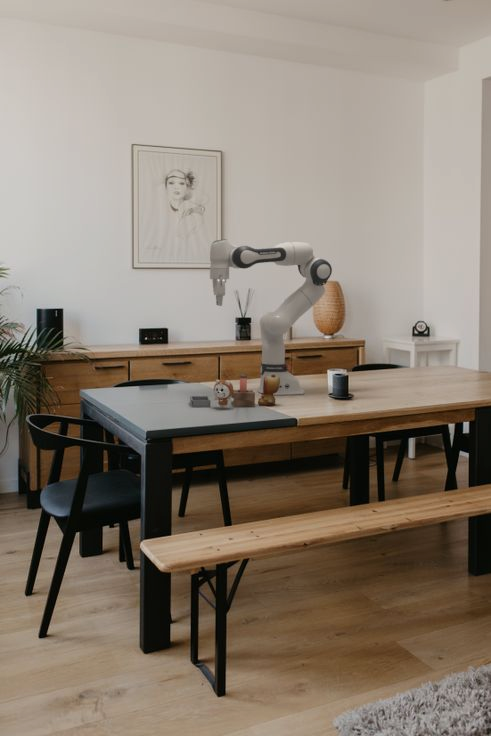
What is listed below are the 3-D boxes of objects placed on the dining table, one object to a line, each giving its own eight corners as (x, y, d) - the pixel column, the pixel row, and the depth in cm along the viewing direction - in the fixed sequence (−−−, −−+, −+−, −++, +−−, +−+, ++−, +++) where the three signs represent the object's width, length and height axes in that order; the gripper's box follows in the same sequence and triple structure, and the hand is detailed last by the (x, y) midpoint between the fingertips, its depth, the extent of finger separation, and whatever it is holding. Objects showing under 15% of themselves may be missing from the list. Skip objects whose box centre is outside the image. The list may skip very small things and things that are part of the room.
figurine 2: (255, 402, 306) (264, 370, 305) (272, 406, 307) (280, 374, 306) (258, 406, 296) (267, 373, 295) (274, 410, 297) (284, 377, 296)
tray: (208, 402, 304) (208, 396, 303) (210, 407, 293) (210, 400, 292) (189, 402, 302) (189, 396, 302) (191, 407, 292) (191, 400, 291)
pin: (245, 404, 301) (246, 374, 299) (246, 405, 298) (247, 375, 296) (238, 404, 300) (239, 374, 299) (239, 405, 298) (240, 375, 296)
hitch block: (251, 403, 304) (251, 389, 304) (254, 406, 295) (255, 393, 295) (231, 403, 303) (231, 389, 302) (233, 407, 294) (234, 393, 293)
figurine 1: (207, 409, 288) (208, 380, 287) (217, 405, 296) (217, 378, 295) (227, 411, 284) (228, 382, 283) (236, 407, 292) (237, 379, 291)
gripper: (228, 275, 308) (228, 306, 309) (224, 275, 328) (224, 305, 329) (214, 274, 307) (214, 306, 308) (211, 275, 327) (210, 304, 329)
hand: (219, 305), depth 319 cm, fingers open, 8 cm apart
